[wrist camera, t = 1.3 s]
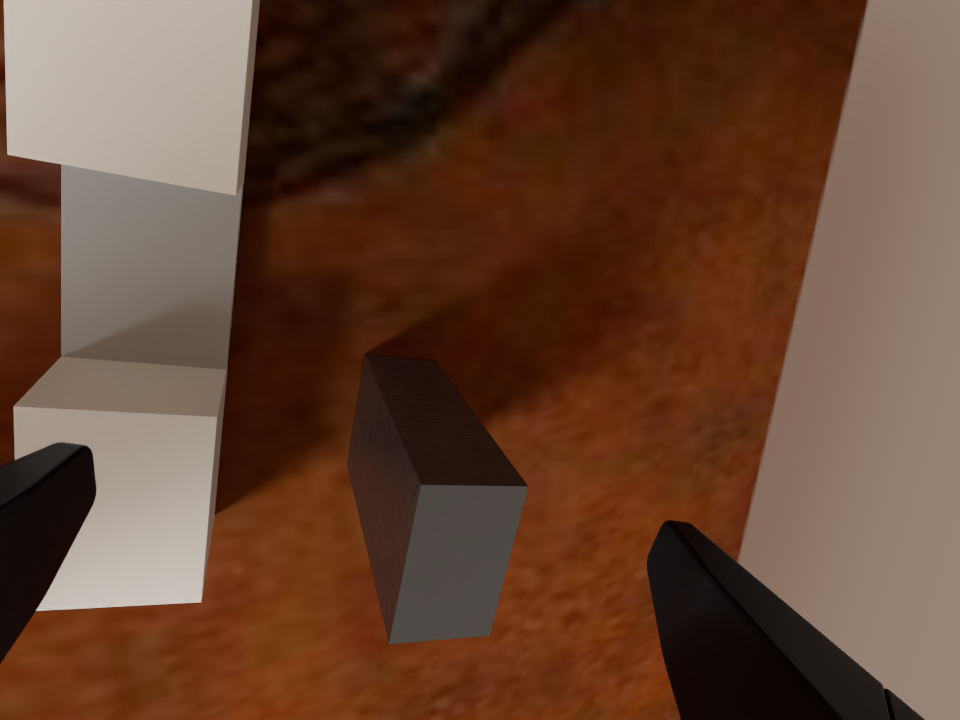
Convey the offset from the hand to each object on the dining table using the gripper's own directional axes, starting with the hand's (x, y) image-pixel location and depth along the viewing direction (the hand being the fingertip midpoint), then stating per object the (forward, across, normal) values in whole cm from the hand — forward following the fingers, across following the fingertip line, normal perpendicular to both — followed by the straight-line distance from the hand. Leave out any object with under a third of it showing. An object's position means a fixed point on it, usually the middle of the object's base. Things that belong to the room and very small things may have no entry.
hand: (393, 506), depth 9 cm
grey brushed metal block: (+14, 0, +7) cm, 16 cm away
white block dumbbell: (+13, +9, +2) cm, 16 cm away
